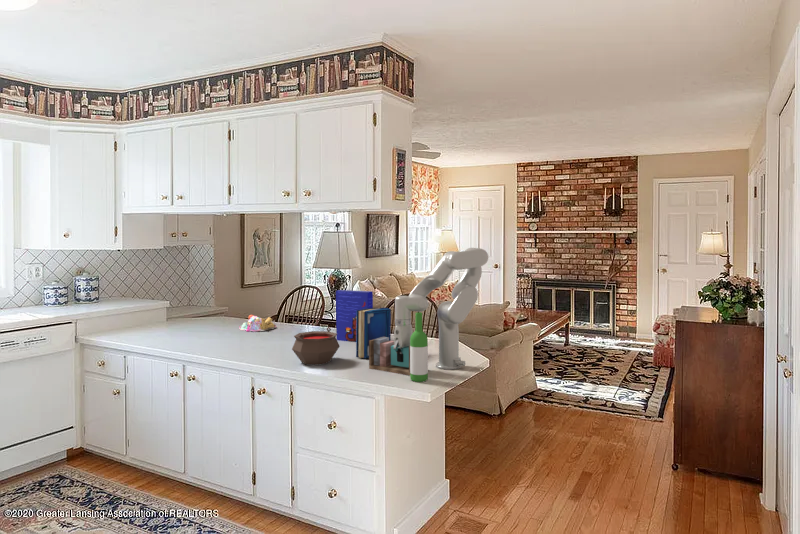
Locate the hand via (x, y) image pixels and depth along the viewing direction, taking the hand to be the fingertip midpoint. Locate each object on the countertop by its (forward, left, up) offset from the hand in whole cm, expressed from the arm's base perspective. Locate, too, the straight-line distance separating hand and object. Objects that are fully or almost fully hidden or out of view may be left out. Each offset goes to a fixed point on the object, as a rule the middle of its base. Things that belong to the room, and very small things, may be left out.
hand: (403, 360), depth 266 cm
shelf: (+4, 0, -5) cm, 6 cm away
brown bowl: (+47, +10, -5) cm, 48 cm away
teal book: (0, 0, -2) cm, 2 cm away
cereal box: (+64, -42, -5) cm, 76 cm away
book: (+31, -18, -5) cm, 36 cm away
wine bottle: (-15, +11, -5) cm, 19 cm away
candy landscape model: (+145, -38, -5) cm, 150 cm away
